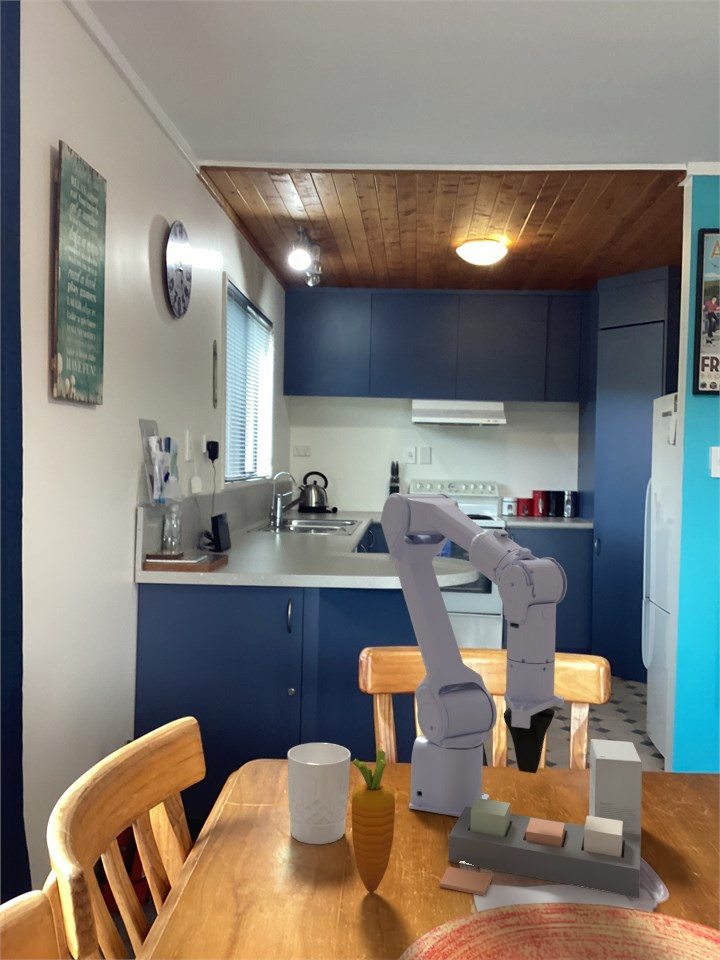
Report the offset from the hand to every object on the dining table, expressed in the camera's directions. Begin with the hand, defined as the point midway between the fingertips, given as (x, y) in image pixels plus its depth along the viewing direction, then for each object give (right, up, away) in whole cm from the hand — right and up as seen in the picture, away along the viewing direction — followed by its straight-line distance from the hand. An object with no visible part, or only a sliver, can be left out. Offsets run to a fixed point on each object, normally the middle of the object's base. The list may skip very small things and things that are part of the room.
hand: (528, 770), depth 96 cm
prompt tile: (-9, -9, -9) cm, 15 cm away
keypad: (+1, -9, -3) cm, 10 cm away
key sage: (-5, -8, -1) cm, 9 cm away
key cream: (+7, -8, -5) cm, 12 cm away
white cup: (-26, -9, +3) cm, 27 cm away
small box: (+12, -10, +5) cm, 16 cm away
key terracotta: (+1, -9, -3) cm, 10 cm away
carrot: (-19, -9, -11) cm, 24 cm away
